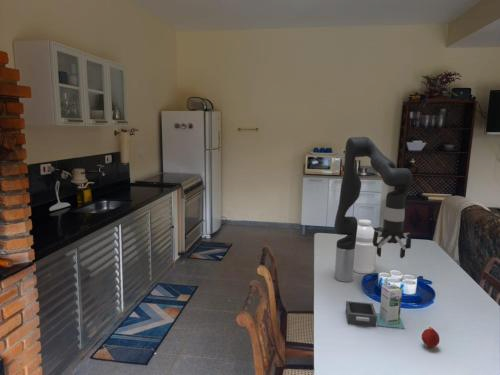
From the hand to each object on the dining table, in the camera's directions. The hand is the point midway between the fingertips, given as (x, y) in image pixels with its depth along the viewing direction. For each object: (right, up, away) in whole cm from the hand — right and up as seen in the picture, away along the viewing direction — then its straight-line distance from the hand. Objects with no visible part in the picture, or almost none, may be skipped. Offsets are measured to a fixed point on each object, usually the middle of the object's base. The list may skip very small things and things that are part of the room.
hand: (390, 256), depth 150 cm
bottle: (+5, -18, +56) cm, 59 cm away
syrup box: (0, -27, +2) cm, 27 cm away
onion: (+9, -30, -15) cm, 35 cm away
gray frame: (-11, -26, +4) cm, 29 cm away
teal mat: (0, -27, +2) cm, 27 cm away
